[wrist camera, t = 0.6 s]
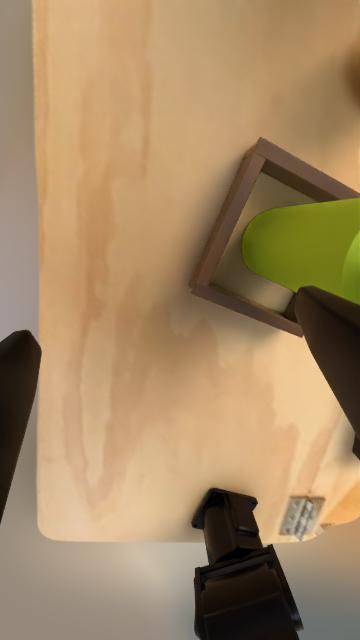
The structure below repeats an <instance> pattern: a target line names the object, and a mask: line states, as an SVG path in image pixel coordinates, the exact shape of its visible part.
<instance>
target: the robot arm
mask: <svg viewBox="0 0 360 640" xmlns="http://www.w3.org/2000/svg"><path fill="white" fill-rule="evenodd" d="M295 314H296V317H297V319H298V322H299V324H300V327H301V329H302V332H303V334H304V337H305V339H306V342H307V344H308V347H309V349H310V351H311V353H312V355H313V357H314V359H315V361H316V362H317V364H318V366H319V368H320V370H321V371H322V373H323V375H324V377H325V379H326V380H327V382H328V384H329V386H330V388H331V389H332V391H333V393H334V395H335V397H336V398H337V400H338V402H339V404H340V406H341V407H342V409H343V411H344V413H345V415H346V416H347V418H348V420H349V422H350V424H351V425H352V427H353V429H354V431H355V433H356V434H357V436H358V438H359V440H360V305H359V304H356V303H354V302H352V301H349V300H347V299H344V298H342V297H340V296H337V295H335V294H332V293H330V292H328V291H325V290H323V289H320V288H318V287H316V286H313V285H310V286H303V287H300V288H299V289H298V291H297V296H296V302H295ZM41 355H42V351H41V347H40V345H39V344H38V342H37V341H36V340H35V338H34V336H33V335H32V333H31V332H30V331H29V330H21V331H16V332H13V333H12V334H11V335H9V336H8V337H7V338H5V339H4V340H3V341H1V342H0V523H1V520H2V516H3V512H4V509H5V505H6V501H7V497H8V494H9V490H10V487H11V482H12V479H13V475H14V472H15V468H16V464H17V461H18V457H19V453H20V449H21V445H22V442H23V438H24V435H25V431H26V427H27V424H28V420H29V416H30V413H31V409H32V405H33V401H34V397H35V393H36V388H37V381H38V375H39V368H40V361H41ZM257 504H258V502H257V499H256V498H255V497H250V496H246V495H242V494H238V493H234V492H229V491H225V490H221V489H217V488H212V489H211V490H210V491H209V493H208V495H207V496H206V498H205V500H204V501H203V503H202V505H201V507H200V508H199V510H198V512H197V513H196V515H195V517H194V518H193V520H192V522H191V523H192V527H193V528H196V529H201V530H203V532H204V538H205V544H206V550H207V556H208V562H209V565H207V566H204V567H201V568H200V567H197V568H195V578H194V588H195V622H194V630H195V634H196V636H197V637H198V638H199V639H200V640H299V637H298V634H297V632H296V631H300V630H303V629H304V628H303V624H302V621H301V618H300V616H299V612H298V609H297V607H296V604H295V601H294V599H293V596H292V593H291V590H290V588H289V585H288V583H287V580H286V577H285V575H284V572H283V570H282V567H281V565H280V562H279V560H278V557H277V555H276V552H275V550H274V547H273V545H272V544H270V545H267V547H264V548H263V545H262V542H261V539H260V536H259V529H258V526H257V523H256V520H255V517H254V515H253V512H252V511H253V510H254V508H255V507H256V505H257Z"/></svg>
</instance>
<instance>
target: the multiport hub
mask: <svg viewBox="0 0 360 640" xmlns="http://www.w3.org/2000/svg"><path fill="white" fill-rule="evenodd" d="M353 453H354V454H355V455H356V457H357V458H358V459H359V460H360V440H359V438H358V436H357V434H356V436H355V441H354V446H353Z"/></svg>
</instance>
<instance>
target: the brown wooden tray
mask: <svg viewBox="0 0 360 640" xmlns="http://www.w3.org/2000/svg"><path fill="white" fill-rule="evenodd" d="M260 171H262V172H264V173H266V174H268V175H270V176H272V177H274V178H275V179H277V180H279V181H281V182H283V183H285V184H287V185H288V186H290V187H292V188H294V189H296V190H298V191H299V192H301V193H303V194H305V195H307V196H309V197H311V198H312V199H314V200H316V201H318V202H320V203H321V202H329V201H338V200H346V199H354V198H360V193H358V192H356V191H355V190H353V189H351V188H349V187H348V186H346V185H344V184H342V183H341V182H339V181H337V180H335V179H334V178H332V177H330V176H328V175H327V174H325V173H323V172H321V171H320V170H318V169H316V168H314V167H313V166H311V165H309V164H307V163H306V162H304V161H302V160H300V159H299V158H297V157H295V156H293V155H292V154H290V153H288V152H286V151H285V150H283V149H281V148H279V147H278V146H276V145H274V144H272V143H271V142H269V141H267V140H265V139H264V138H262V137H260V138H259V139H258V141H257V143H256V144H255V145H254V146H253V147H251V148H250V149H249V150H248V151H247V152H246V154H245V156H244V159H243V161H242V163H241V165H240V168H239V170H238V172H237V175H236V177H235V179H234V182H233V184H232V186H231V188H230V191H229V193H228V195H227V198H226V200H225V202H224V204H223V207H222V209H221V211H220V214H219V216H218V218H217V220H216V223H215V225H214V227H213V230H212V232H211V234H210V236H209V239H208V241H207V243H206V246H205V248H204V250H203V253H202V255H201V257H200V259H199V262H198V264H197V266H196V269H195V271H194V273H193V275H192V278H191V280H190V282H189V287H190V288H191V294H194V295H196V296H199V297H201V298H204V299H206V300H209V301H211V302H214V303H216V304H219V305H221V306H224V307H226V308H229V309H231V310H234V311H236V312H239V313H241V314H244V315H246V316H248V317H251V318H253V319H256V320H258V321H261V322H263V323H266V324H268V325H271V326H273V327H276V328H278V329H281V330H283V331H286V332H288V333H291V334H293V335H296V336H298V337H301V338H302V337H303V335H304V334H303V332H302V329H301V327H300V324H299V322H298V319H297V317H296V314H295V302H296V296H297V293H295V295H294V297H293V299H292V301H291V302H290V304H289V306H288V308H287V310H286V311H285V313H284V315H281V314H279V313H277V312H274V311H272V310H269V309H267V308H265V307H262V306H260V305H257V304H255V303H253V302H250V301H248V300H245V299H243V298H241V297H238V296H236V295H233V294H231V293H229V292H226V291H224V290H221V289H219V288H217V287H214V286H212V285H209V282H210V280H211V278H212V276H213V273H214V271H215V269H216V267H217V265H218V262H219V260H220V258H221V256H222V254H223V252H224V249H225V247H226V245H227V243H228V241H229V238H230V236H231V234H232V232H233V230H234V227H235V225H236V223H237V221H238V219H239V217H240V214H241V212H242V210H243V208H244V206H245V203H246V201H247V199H248V197H249V195H250V193H251V190H252V188H253V186H254V184H255V182H256V179H257V177H258V175H259V173H260Z"/></svg>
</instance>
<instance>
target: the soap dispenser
mask: <svg viewBox="0 0 360 640" xmlns="http://www.w3.org/2000/svg"><path fill="white" fill-rule="evenodd" d="M242 254H243V258H244V261H245V263H246V264H247V266H248V267H249V268H250V269H251V270H252V271H253V272H254V273H256V274H258V275H260V276H262V277H264V278H266V279H268V280H271V281H273V282H275V283H277V284H279V285H281V286H283V287H286V288H288V289H290V290H292V291H294V292H296V293H297V291H298V289H299V288H300V287H303V286H310V285H313V286H316V287H318V288H320V289H323V290H325V291H328V292H330V293H332V294H335V295H337V296H340V297H342V298H344V299H347V300H349V301H352V302H354V303H356V304H359V305H360V198H354V199H346V200H338V201H329V202H321V203H313V204H304V205H296V206H288V207H280V208H272V209H268V210H266V211H264V212H262V213H260V214H259V215H257V216H256V217H255V218H254V219H253V220H252V221H251V222H250V224H249V225H248V227H247V228H246V230H245V233H244V235H243V239H242Z"/></svg>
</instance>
